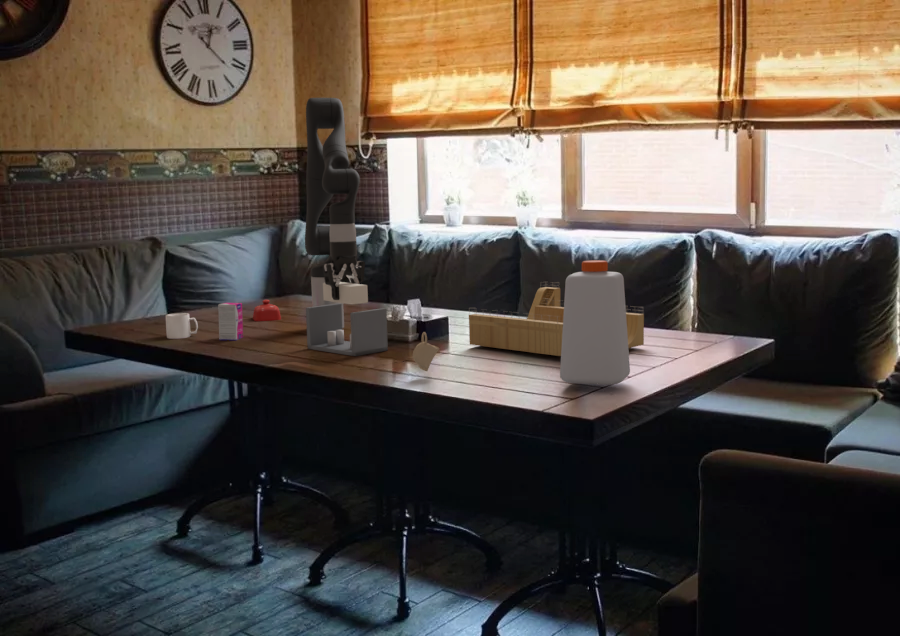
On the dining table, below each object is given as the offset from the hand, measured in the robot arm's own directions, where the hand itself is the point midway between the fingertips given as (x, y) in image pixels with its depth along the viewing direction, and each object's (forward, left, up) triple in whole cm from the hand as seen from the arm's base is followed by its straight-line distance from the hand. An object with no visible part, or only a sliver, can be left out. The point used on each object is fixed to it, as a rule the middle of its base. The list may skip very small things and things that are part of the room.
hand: (345, 298), depth 289 cm
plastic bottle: (-8, +82, -15) cm, 83 cm away
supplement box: (+10, -44, -15) cm, 48 cm away
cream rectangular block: (0, 0, -1) cm, 1 cm away
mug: (+17, -60, -15) cm, 65 cm away
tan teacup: (+9, +42, -15) cm, 45 cm away
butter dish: (-20, -67, -15) cm, 71 cm away
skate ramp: (-43, +45, -15) cm, 64 cm away
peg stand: (0, 0, -15) cm, 15 cm away
